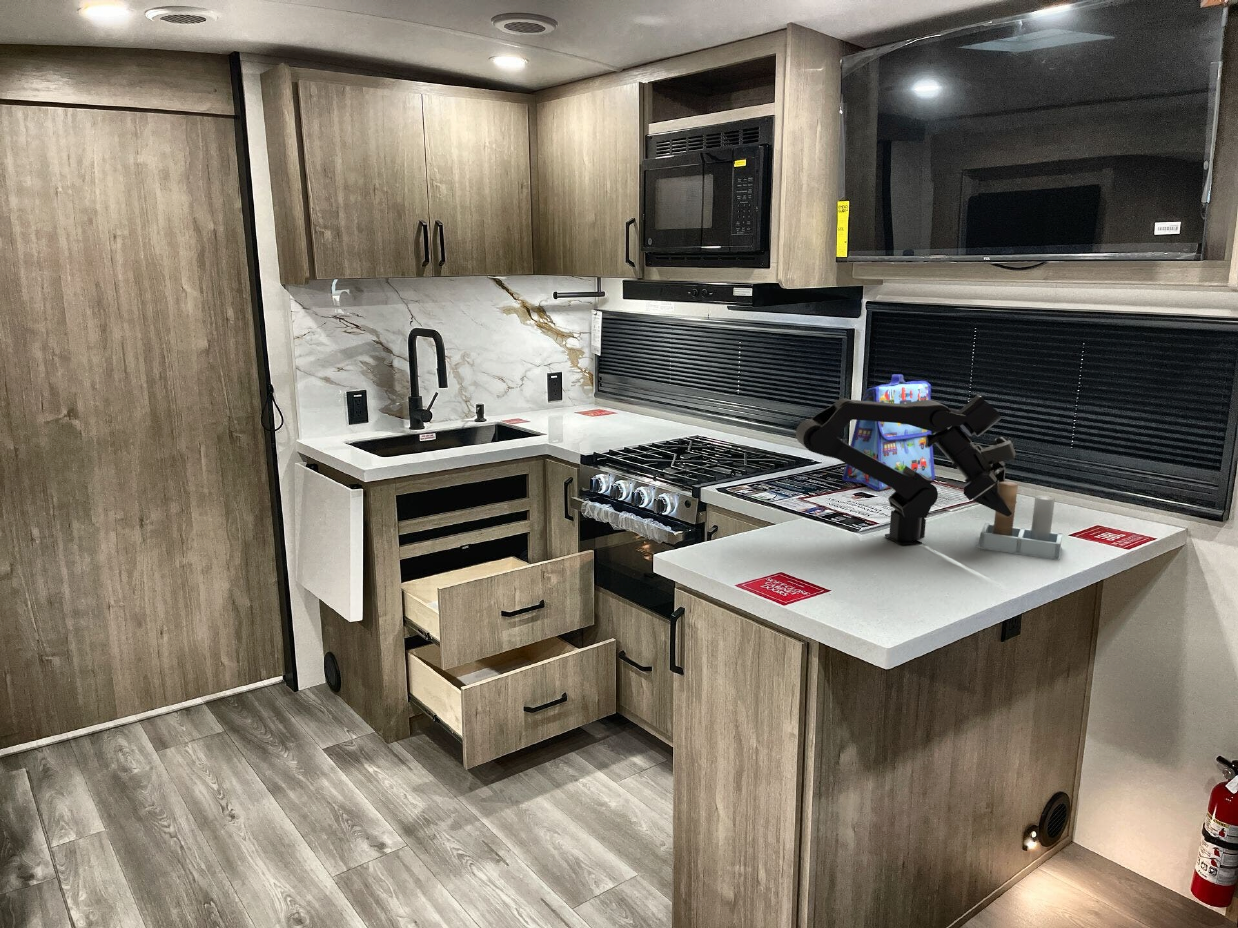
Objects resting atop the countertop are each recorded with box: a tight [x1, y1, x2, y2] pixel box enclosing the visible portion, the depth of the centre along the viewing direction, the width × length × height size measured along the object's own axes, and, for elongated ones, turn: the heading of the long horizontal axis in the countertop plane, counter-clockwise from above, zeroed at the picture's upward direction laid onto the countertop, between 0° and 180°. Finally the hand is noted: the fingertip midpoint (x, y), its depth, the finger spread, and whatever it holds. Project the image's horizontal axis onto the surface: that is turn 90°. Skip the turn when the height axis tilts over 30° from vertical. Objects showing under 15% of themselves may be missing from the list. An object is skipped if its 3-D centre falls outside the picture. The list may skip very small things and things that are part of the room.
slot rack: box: [977, 522, 1063, 561], centre depth 183 cm, size 15×9×4 cm, turn 62°
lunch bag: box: [842, 373, 936, 491], centre depth 236 cm, size 22×14×29 cm, turn 122°
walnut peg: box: [993, 481, 1019, 536], centre depth 184 cm, size 4×4×13 cm
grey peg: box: [1030, 495, 1056, 542], centre depth 181 cm, size 4×4×11 cm
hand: (1012, 509), depth 183 cm, fingers open, 9 cm apart
